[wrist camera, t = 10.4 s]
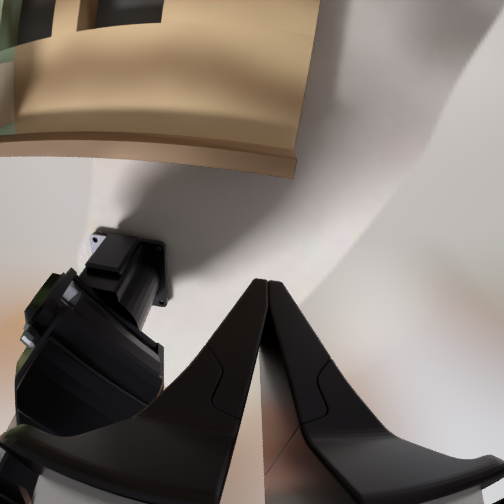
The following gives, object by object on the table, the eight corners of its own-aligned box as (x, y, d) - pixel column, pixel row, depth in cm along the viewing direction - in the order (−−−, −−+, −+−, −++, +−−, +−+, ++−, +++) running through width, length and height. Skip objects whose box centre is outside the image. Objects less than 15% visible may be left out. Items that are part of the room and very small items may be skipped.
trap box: (288, 154, 19) (292, 179, 15) (-9, 140, 18) (-43, 158, 15) (322, -48, 11) (336, -75, 8) (-3, -10, 11) (-40, -9, 7)
